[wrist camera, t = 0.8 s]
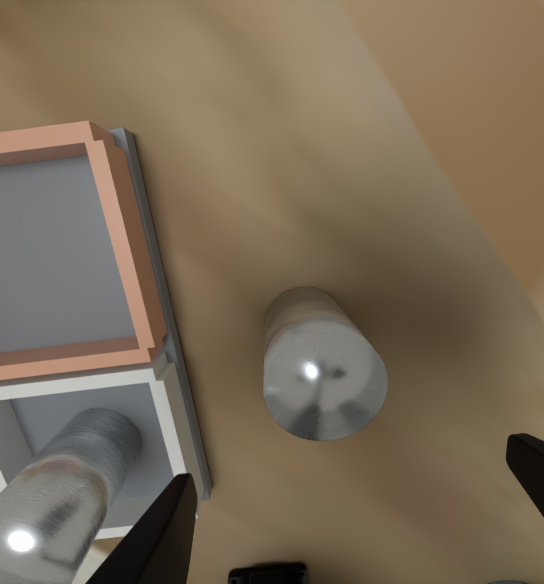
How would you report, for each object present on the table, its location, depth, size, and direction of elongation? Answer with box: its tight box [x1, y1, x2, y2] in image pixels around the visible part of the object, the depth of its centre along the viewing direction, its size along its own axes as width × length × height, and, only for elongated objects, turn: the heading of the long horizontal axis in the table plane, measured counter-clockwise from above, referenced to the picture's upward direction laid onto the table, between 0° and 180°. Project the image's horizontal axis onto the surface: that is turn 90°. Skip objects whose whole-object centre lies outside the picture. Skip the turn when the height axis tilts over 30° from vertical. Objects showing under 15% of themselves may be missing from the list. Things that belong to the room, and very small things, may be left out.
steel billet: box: [263, 287, 388, 441], centre depth 15 cm, size 5×5×7 cm
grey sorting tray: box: [0, 121, 212, 539], centre depth 17 cm, size 24×12×3 cm, turn 7°
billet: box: [0, 408, 142, 584], centre depth 15 cm, size 5×5×7 cm
